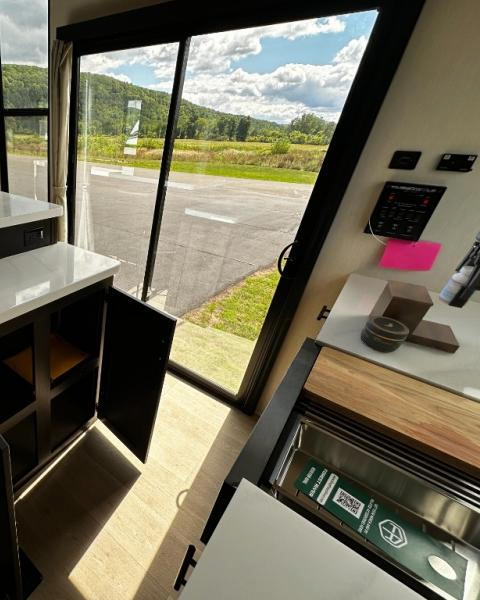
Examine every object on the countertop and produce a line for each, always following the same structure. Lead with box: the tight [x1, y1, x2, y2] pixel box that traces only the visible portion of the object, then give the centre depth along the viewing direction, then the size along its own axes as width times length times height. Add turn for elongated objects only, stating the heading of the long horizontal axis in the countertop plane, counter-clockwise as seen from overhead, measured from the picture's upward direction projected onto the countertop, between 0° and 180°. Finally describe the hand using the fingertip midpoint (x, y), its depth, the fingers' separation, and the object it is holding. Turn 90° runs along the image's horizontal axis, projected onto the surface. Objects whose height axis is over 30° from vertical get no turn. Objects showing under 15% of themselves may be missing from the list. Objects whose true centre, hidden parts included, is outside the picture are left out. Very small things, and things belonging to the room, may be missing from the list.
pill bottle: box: [437, 266, 477, 307], centre depth 94 cm, size 6×6×11 cm
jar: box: [359, 316, 409, 353], centre depth 101 cm, size 10×10×8 cm
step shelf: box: [368, 279, 461, 354], centre depth 103 cm, size 20×12×15 cm, turn 56°
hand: (451, 300), depth 97 cm, fingers closed on pill bottle, 6 cm apart
